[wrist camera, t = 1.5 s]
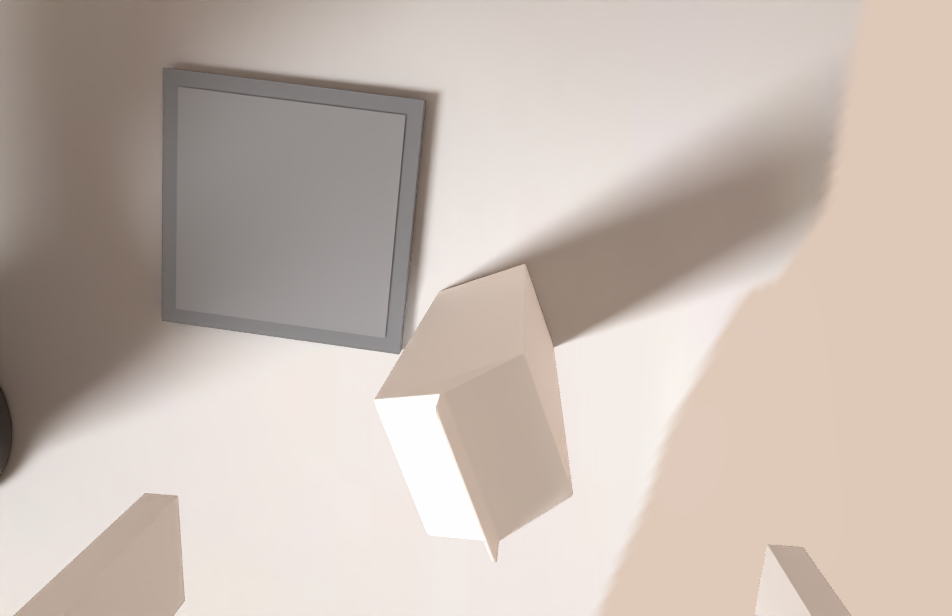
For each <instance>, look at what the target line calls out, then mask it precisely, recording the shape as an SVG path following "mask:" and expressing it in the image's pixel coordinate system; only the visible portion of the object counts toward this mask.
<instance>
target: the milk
mask: <svg viewBox="0 0 952 616" xmlns="http://www.w3.org/2000/svg"><path fill="white" fill-rule="evenodd" d="M374 402H375V405H376V408H377V410H378V412H379V415H380V417H381V420H382V422H383V425H384V427H385V430H386V432H387V435H388V437H389V440H390V442H391V445H392V447H393V450H394V452H395V455H396V457H397V460H398V462H399V464H400V467H401V469H402V472H403V474H404V477H405V479H406V482H407V484H408V487H409V489H410V492H411V494H412V497H413V499H414V502H415V504H416V507H417V509H418V512H419V514H420V516H421V519H422V521H423V524H424V526H425V529H426V531H427V533H428V534H429V535H433V536H443V537H453V538H463V539H473V540H483V541H484V543H485V546H486V548H487V551H488V554H489V556H490V559H491V561H492V562H497V556H498V544H499V541H500V540H501V539H503V538H505V537H506V536H508V535H509V534H511V533H513V532H514V531H516V530H518V529H519V528H521V527H523V526H524V525H526V524H527V523H529V522H531V521H532V520H534V519H536V518H537V517H539V516H541V515H542V514H544V513H545V512H547V511H549V510H550V509H552V508H554V507H555V506H557V505H559V504H560V503H562V502H563V501H565V500H567V499H568V498H570V497H571V496H572V494H573V490H572V483H571V475H570V468H569V460H568V452H567V445H566V437H565V429H564V422H563V414H562V407H561V399H560V391H559V384H558V376H557V368H556V361H555V353H554V347H553V344H552V341H551V338H550V335H549V332H548V329H547V326H546V323H545V320H544V317H543V314H542V311H541V308H540V305H539V302H538V299H537V296H536V293H535V290H534V287H533V284H532V281H531V278H530V275H529V272H528V269H527V266H526V264H522V265H519V266H515V267H512V268H509V269H506V270H503V271H500V272H497V273H494V274H491V275H488V276H485V277H482V278H479V279H476V280H473V281H470V282H467V283H464V284H461V285H458V286H455V287H452V288H449V289H446V290H443V291H440V292H439V293H438V294H437V296H436V298H435V299H434V301H433V303H432V304H431V306H430V308H429V309H428V311H427V313H426V314H425V316H424V318H423V319H422V321H421V322H420V324H419V326H418V327H417V329H416V331H415V332H414V334H413V336H412V337H411V339H410V341H409V342H408V344H407V346H406V347H405V349H404V351H403V352H402V354H401V356H400V357H399V359H398V361H397V362H396V364H395V366H394V367H393V369H392V371H391V372H390V374H389V376H388V377H387V379H386V381H385V382H384V384H383V386H382V387H381V389H380V391H379V392H378V394H377V396H376V397H375V399H374Z"/></svg>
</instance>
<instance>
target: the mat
mask: <svg viewBox="0 0 952 616" xmlns="http://www.w3.org/2000/svg"><path fill="white" fill-rule="evenodd" d="M425 107H426V101H425V100H420V99H412V98H404V97H396V96H388V95H380V94H372V93H364V92H356V91H348V90H340V89H332V88H324V87H316V86H308V85H300V84H292V83H284V82H276V81H268V80H260V79H252V78H244V77H236V76H228V75H220V74H212V73H203V72H195V71H187V70H179V69H171V68H163V177H162V321H168V322H175V323H182V324H189V325H196V326H203V327H210V328H217V329H224V330H231V331H238V332H245V333H252V334H259V335H267V336H274V337H281V338H288V339H295V340H302V341H309V342H316V343H323V344H330V345H337V346H344V347H351V348H358V349H365V350H372V351H379V352H386V353H394V354H399V353H400V352H401V348H402V338H403V328H404V318H405V308H406V298H407V288H408V278H409V268H410V258H411V248H412V237H413V227H414V217H415V207H416V197H417V187H418V177H419V167H420V157H421V147H422V137H423V127H424V117H425Z"/></svg>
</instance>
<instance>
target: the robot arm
mask: <svg viewBox="0 0 952 616" xmlns="http://www.w3.org/2000/svg"><path fill="white" fill-rule="evenodd" d="M10 446H11V423H10V417H9V412H8V408H7V405H6V402H5V399H4V397H3V394H2V392H1V390H0V475H1V473H2V472H3V470H4V468H5V465H6V463H7V460H8V457H9V452H10ZM184 601H185V596H184V581H183V566H182V550H181V535H180V520H179V504H178V496H174V495H161V494H149V493H145V494H144V495H143V496H142V497H141V498H139V499H138V500H137V501H136V502H135V503H134V504H133V505H132V506H131V507H130V508H129V509H128V510H127V511H125V512H124V513H123V514H122V515H121V516H120V517H119V518H118V519H117V520H116V521H115V522H114V523H113V524H111V525H110V526H109V527H108V528H107V529H106V530H105V531H104V532H103V533H102V534H101V535H100V536H99V537H97V538H96V539H95V540H94V541H93V542H92V543H91V544H90V545H89V546H88V547H87V548H86V549H85V550H84V551H82V552H81V553H80V554H79V555H78V556H77V557H76V558H75V559H74V560H73V561H72V562H71V563H70V564H68V565H67V566H66V567H65V568H64V569H63V570H62V571H61V572H60V573H59V574H58V575H57V576H56V577H54V578H53V579H52V580H51V581H50V582H49V583H48V584H47V585H46V586H45V587H44V588H43V589H42V590H40V591H39V592H38V593H37V594H36V595H35V596H34V597H33V598H32V599H31V600H30V601H29V602H28V603H26V604H25V605H24V606H23V607H22V608H21V609H20V610H19V611H18V612H17V613H16V614H15V615H14V616H174V614H175V613H176V612H177V610H178V609H179V608H180V606H181V605H182V604H183V602H184ZM755 616H851V615H850V613H849V612H848V610H847V609H846V607H845V606H844V605H843V603H842V602H841V600H840V599H839V597H838V596H837V595H836V593H835V592H834V590H833V589H832V587H831V586H830V585H829V583H828V582H827V580H826V579H825V577H824V576H823V575H822V573H821V572H820V570H819V569H818V568H817V566H816V565H815V563H814V562H813V561H812V559H811V557H810V556H809V555H808V553H807V552H806V550H805V549H804V548H803V547H793V546H781V545H769V544H768V545H767V549H766V554H765V560H764V566H763V571H762V576H761V582H760V588H759V594H758V599H757V604H756V610H755Z"/></svg>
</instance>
